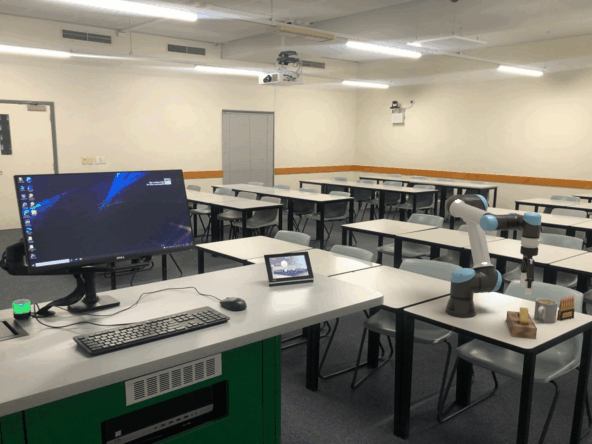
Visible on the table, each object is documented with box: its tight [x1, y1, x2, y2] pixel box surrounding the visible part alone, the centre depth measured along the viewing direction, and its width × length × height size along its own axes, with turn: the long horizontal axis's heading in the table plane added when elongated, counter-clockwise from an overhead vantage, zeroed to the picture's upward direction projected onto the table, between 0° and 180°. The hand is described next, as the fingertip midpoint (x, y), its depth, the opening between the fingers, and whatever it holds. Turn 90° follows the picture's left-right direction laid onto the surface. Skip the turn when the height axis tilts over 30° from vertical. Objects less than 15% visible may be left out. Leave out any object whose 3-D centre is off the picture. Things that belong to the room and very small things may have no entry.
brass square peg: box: [518, 307, 529, 325], centre depth 237 cm, size 3×3×12 cm
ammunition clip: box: [556, 295, 575, 322], centre depth 257 cm, size 11×2×12 cm, turn 116°
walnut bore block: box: [506, 310, 538, 339], centre depth 243 cm, size 10×22×5 cm, turn 165°
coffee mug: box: [533, 297, 558, 324], centre depth 254 cm, size 13×10×10 cm
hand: (525, 290), depth 235 cm, fingers open, 13 cm apart
